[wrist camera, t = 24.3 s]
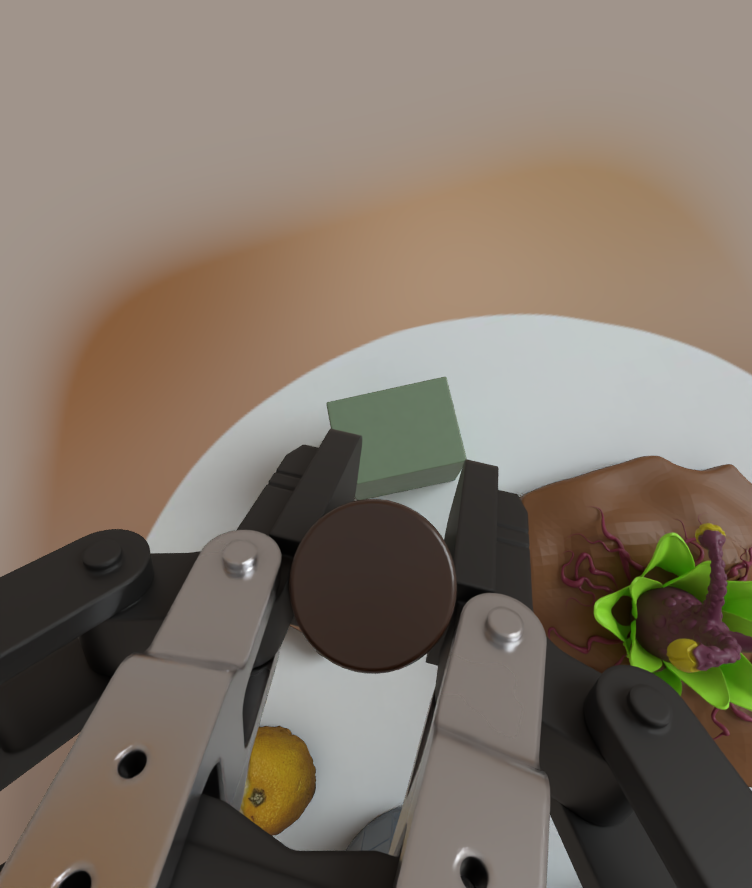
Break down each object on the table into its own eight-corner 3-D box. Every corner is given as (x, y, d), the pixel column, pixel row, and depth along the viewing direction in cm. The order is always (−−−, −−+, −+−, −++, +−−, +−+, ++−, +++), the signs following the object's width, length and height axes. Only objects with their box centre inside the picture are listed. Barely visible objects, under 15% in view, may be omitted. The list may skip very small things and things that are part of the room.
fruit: (195, 700, 33) (169, 718, 29) (318, 698, 33) (306, 717, 29) (189, 842, 31) (160, 880, 28) (319, 843, 31) (307, 882, 27)
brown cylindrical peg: (355, 621, 15) (283, 718, 7) (338, 526, 16) (252, 499, 7) (449, 603, 15) (502, 677, 7) (429, 508, 16) (452, 459, 7)
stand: (358, 500, 35) (342, 487, 27) (344, 433, 36) (325, 402, 28) (455, 480, 35) (467, 460, 27) (439, 413, 36) (446, 375, 28)
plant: (467, 477, 35) (492, 445, 24) (755, 448, 34) (919, 400, 23) (510, 797, 31) (564, 937, 20) (840, 775, 29) (1092, 909, 19)
